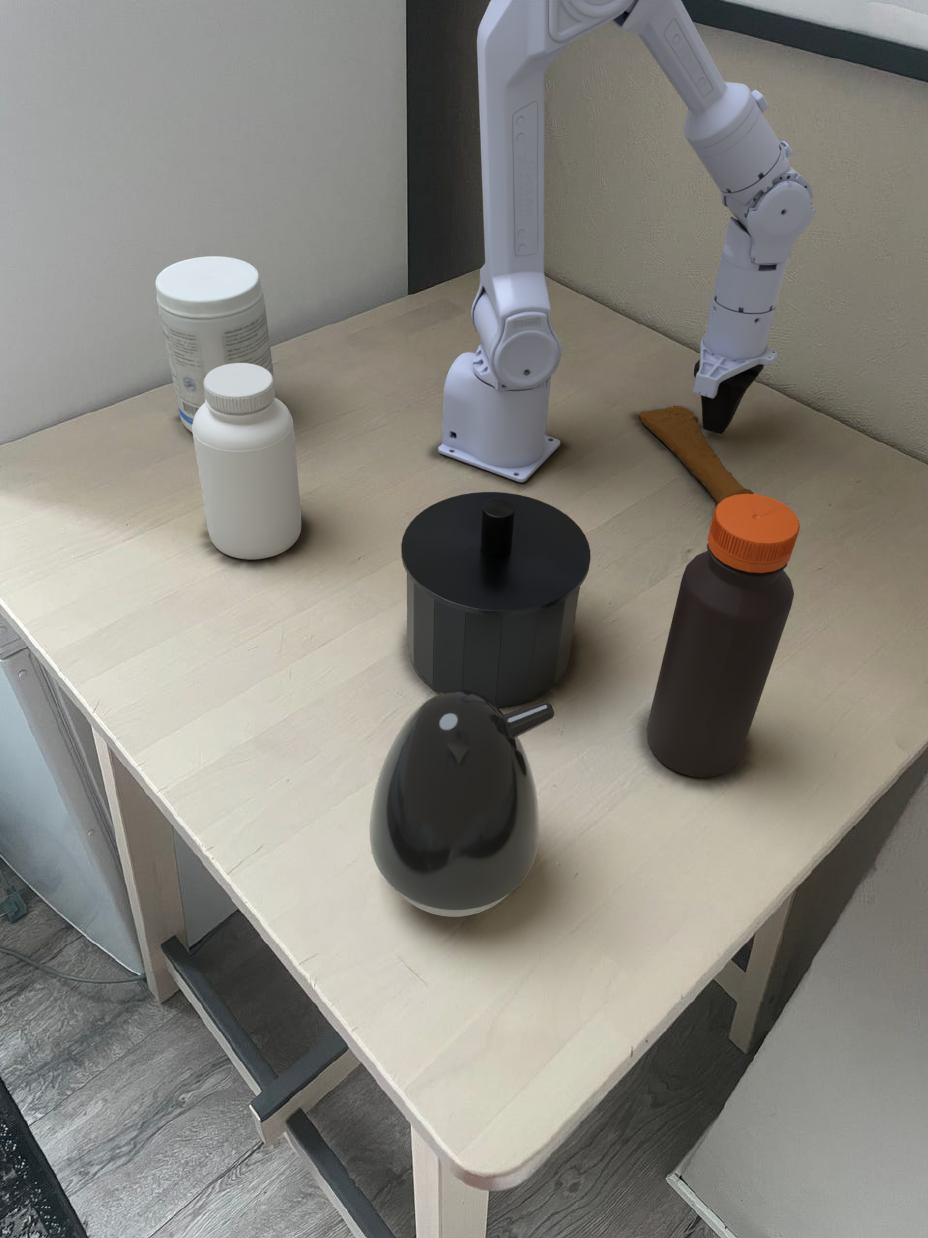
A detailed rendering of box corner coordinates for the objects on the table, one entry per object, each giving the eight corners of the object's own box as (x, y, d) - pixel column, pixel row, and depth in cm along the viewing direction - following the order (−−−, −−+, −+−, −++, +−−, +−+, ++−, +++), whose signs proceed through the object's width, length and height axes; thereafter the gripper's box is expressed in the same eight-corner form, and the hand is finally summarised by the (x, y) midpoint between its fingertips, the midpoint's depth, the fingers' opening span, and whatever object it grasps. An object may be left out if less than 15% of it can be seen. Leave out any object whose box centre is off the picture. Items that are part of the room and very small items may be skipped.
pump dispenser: (555, 927, 62) (584, 766, 52) (385, 957, 60) (379, 797, 50) (514, 793, 69) (531, 629, 59) (360, 816, 67) (351, 651, 57)
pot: (377, 665, 78) (373, 569, 71) (461, 576, 86) (464, 482, 79) (521, 732, 73) (532, 636, 67) (595, 631, 81) (611, 536, 75)
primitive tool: (635, 416, 105) (641, 385, 102) (685, 410, 106) (691, 380, 104) (718, 529, 91) (726, 497, 89) (773, 521, 93) (783, 489, 90)
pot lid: (364, 577, 71) (361, 524, 68) (462, 483, 80) (464, 432, 77) (534, 650, 67) (540, 597, 64) (619, 542, 75) (628, 490, 72)
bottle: (666, 694, 76) (721, 470, 63) (754, 731, 74) (831, 507, 60) (630, 754, 72) (680, 528, 58) (722, 795, 70) (797, 569, 56)
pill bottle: (322, 533, 89) (310, 379, 79) (248, 575, 85) (226, 417, 75) (263, 494, 93) (245, 343, 83) (190, 533, 89) (161, 377, 78)
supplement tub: (274, 389, 106) (259, 251, 96) (282, 439, 100) (267, 296, 90) (178, 397, 105) (153, 257, 95) (180, 449, 98) (153, 303, 88)
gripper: (761, 343, 87) (728, 476, 96) (811, 281, 96) (776, 408, 105) (683, 321, 89) (658, 453, 99) (739, 263, 99) (711, 388, 108)
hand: (714, 428), depth 102 cm, fingers closed
